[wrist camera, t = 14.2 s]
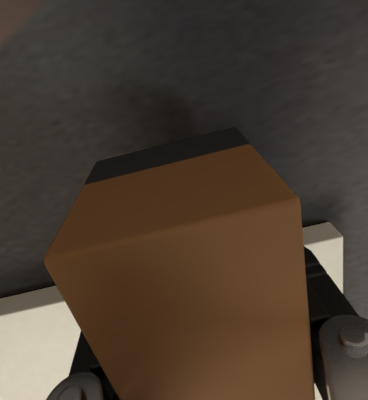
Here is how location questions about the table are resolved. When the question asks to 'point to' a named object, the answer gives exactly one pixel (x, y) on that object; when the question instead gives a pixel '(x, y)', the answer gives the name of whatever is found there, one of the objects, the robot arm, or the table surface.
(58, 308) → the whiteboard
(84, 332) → the eraser
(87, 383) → the robot arm
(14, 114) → the table surface
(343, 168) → the table surface
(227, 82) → the table surface
